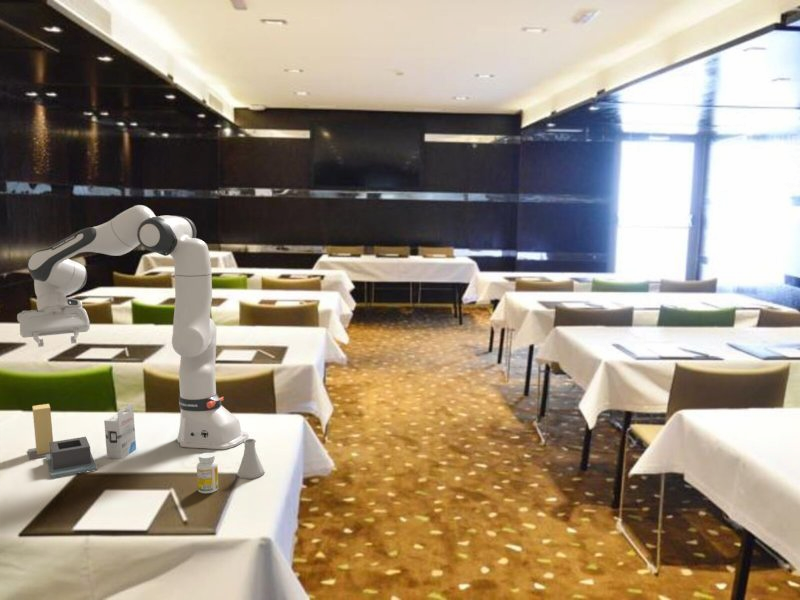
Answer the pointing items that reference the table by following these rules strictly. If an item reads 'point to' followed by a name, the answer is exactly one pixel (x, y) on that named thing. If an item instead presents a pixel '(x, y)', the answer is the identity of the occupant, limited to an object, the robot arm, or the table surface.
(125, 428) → the ink box
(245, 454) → the flask
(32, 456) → the pad
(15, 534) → the table surface
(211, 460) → the supplement bottle
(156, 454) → the table surface
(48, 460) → the board
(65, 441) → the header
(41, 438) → the plug
